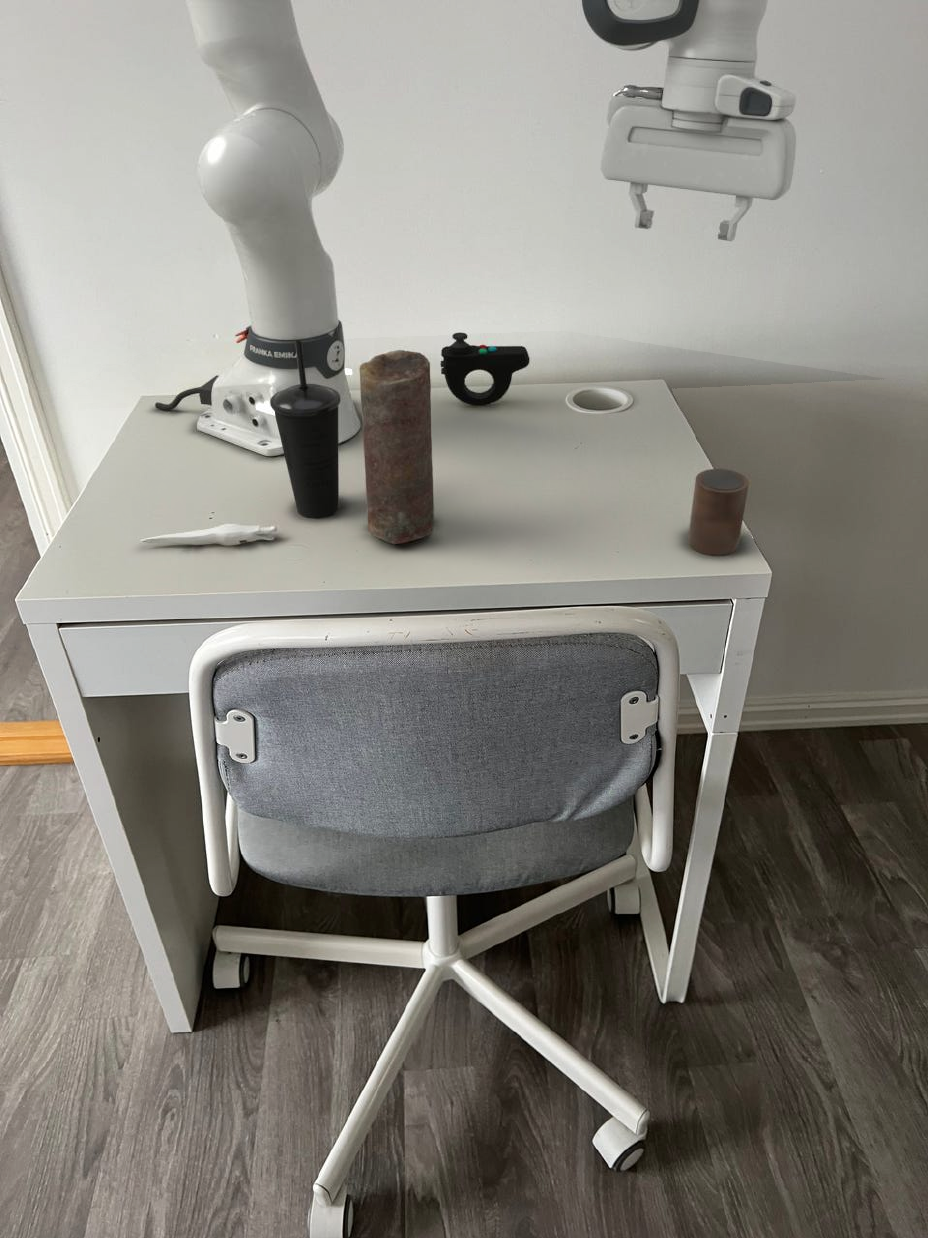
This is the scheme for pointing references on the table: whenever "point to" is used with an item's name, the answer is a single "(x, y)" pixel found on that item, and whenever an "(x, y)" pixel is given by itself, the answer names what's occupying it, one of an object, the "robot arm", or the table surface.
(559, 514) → the table surface
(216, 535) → the white toy lizard
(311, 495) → the drinking cup
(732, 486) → the pencil cup
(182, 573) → the table surface
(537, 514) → the table surface
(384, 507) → the brown stone cylinder
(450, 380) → the controller
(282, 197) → the robot arm
